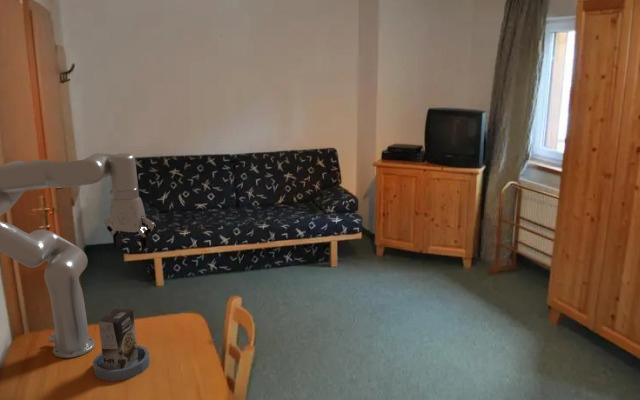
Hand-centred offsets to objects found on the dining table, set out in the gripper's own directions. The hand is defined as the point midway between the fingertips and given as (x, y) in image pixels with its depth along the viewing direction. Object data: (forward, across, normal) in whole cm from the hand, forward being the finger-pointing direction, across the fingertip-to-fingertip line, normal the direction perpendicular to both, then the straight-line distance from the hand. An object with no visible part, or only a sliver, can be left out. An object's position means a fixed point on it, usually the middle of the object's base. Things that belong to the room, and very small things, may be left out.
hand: (131, 247), depth 178 cm
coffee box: (+33, +2, -14) cm, 36 cm away
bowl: (+33, +2, -14) cm, 36 cm away
